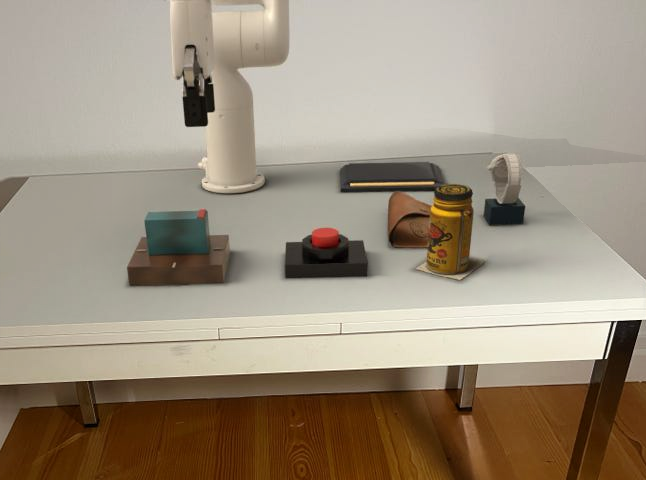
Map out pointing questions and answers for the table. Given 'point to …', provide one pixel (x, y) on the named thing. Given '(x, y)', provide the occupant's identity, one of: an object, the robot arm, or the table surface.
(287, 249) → the button box
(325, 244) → the button
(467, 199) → the condiment
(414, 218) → the sunglasses case
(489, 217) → the watch
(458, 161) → the table surface
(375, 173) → the wallet
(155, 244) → the teal rectangular block
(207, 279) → the base
